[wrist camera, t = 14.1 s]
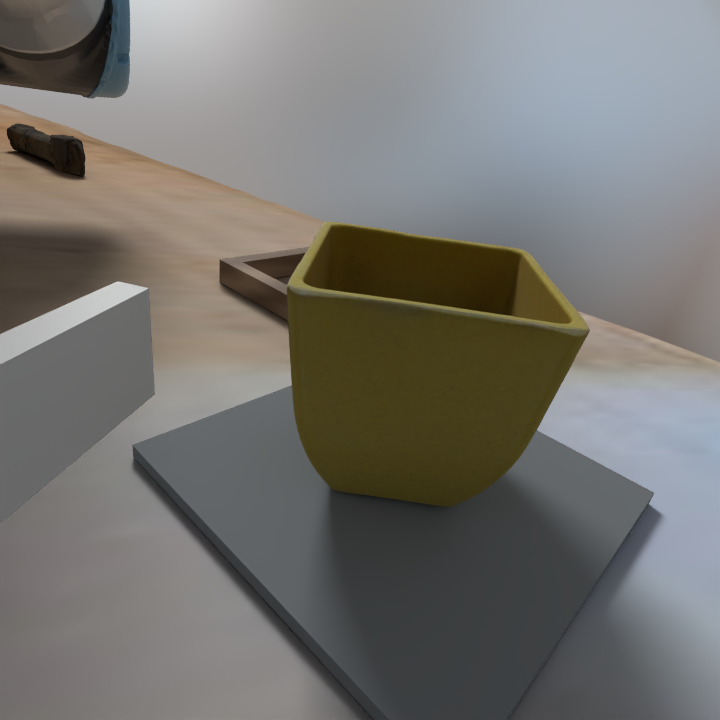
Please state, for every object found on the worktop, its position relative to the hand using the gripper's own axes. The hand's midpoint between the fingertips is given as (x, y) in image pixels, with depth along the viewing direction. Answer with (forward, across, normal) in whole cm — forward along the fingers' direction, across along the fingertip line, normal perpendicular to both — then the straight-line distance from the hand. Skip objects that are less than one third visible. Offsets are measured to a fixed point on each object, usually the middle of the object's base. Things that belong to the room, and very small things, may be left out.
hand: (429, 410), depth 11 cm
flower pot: (+8, -1, -8) cm, 12 cm away
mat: (+8, 0, -9) cm, 12 cm away
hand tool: (+55, -57, -9) cm, 79 cm away
